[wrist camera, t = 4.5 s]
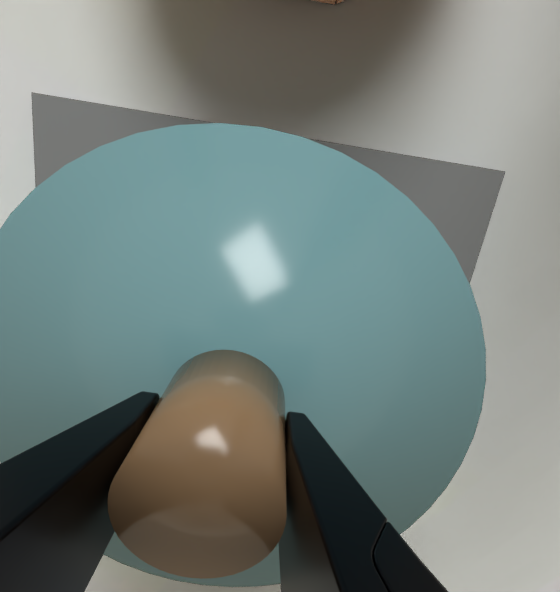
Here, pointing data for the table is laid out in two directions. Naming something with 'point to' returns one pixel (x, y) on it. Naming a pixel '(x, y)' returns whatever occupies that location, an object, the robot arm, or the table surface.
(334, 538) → the robot arm
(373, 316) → the lid
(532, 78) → the table surface
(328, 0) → the bowl
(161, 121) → the mat
